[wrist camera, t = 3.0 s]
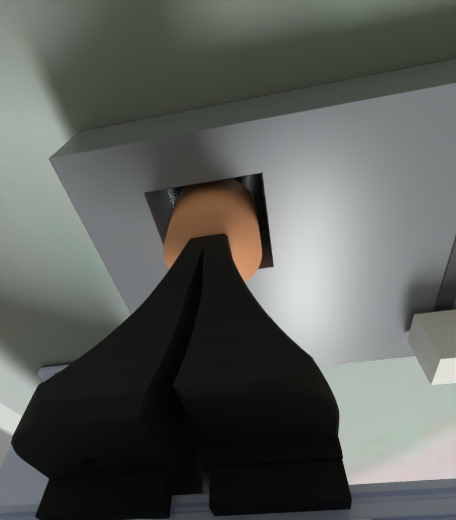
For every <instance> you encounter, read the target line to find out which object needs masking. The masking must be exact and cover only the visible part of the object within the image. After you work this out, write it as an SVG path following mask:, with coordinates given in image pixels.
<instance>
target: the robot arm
mask: <svg viewBox="0 0 456 520" xmlns="http://www.w3.org/2000/svg"><path fill="white" fill-rule="evenodd" d="M37 375H38V377H39V378H40V379H41V380H42V383H41V384H39V385H38V387H37V389H36V390H35V392H34V394H33V396H32V398H31V400H30V402H29V404H28V406H27V408H26V410H25V412H24V414H23V416H22V418H21V421H20V423H19V425H18V427H17V429H16V431H15V433H14V435H13V437H12V441H11V446H10V449H9V450H8V453H7V455H6V457H5V459H4V461H3V463H2V466H1V468H0V520H456V479H440V480H423V481H407V482H390V483H373V484H356V485H348V481H347V477H346V473H345V469H344V465H343V461H342V459H343V455H342V450H341V446H340V442H339V438H338V429H339V409H338V405H337V402H336V400H335V397H334V395H333V393H332V391H331V389H330V387H329V385H328V383H327V381H326V379H325V377H324V376H323V374H322V372H321V371H320V369H319V367H318V366H317V364H316V363H315V361H314V359H313V358H312V357H311V356H310V355H309V354H308V353H307V352H305V351H304V350H303V349H302V348H301V347H300V346H298V345H297V344H296V343H295V342H294V341H293V340H292V339H291V338H290V337H289V336H288V335H287V334H286V333H285V332H284V331H283V330H282V329H281V328H280V327H279V326H278V325H277V324H276V323H275V322H274V321H273V319H272V318H271V317H270V316H269V315H268V314H267V313H266V312H265V310H264V309H263V308H262V307H261V305H260V304H259V303H258V301H257V300H256V299H255V297H254V296H253V294H252V293H251V291H250V290H249V288H248V287H247V285H246V284H245V282H244V280H243V278H242V277H241V275H240V273H239V271H238V269H237V267H236V265H235V263H234V261H233V257H232V253H231V248H230V244H229V239H228V236H227V235H226V234H224V233H223V234H216V235H209V236H203V237H196V238H190V239H189V241H188V242H187V244H186V245H185V247H184V248H183V250H182V251H181V253H180V254H179V256H178V257H177V259H176V260H175V262H174V263H173V265H172V266H171V268H170V269H169V271H168V272H167V273H166V275H165V276H164V278H163V279H162V280H161V281H160V283H159V284H158V285H157V287H156V288H155V289H154V290H153V292H152V293H151V294H150V295H149V297H148V298H147V299H146V300H145V301H144V302H143V303H142V304H141V305H140V306H139V307H138V308H137V309H136V310H135V312H134V313H133V314H132V315H131V316H130V317H128V318H127V319H126V320H125V321H124V322H123V323H122V324H121V325H120V326H118V327H117V328H116V329H115V330H114V331H113V332H112V333H111V334H110V335H108V336H107V337H106V338H105V339H104V340H102V341H101V342H100V343H99V344H97V345H96V346H95V347H94V348H92V349H91V350H90V351H88V352H87V353H86V354H84V355H83V356H82V357H80V358H79V359H77V360H76V361H75V362H73V363H72V364H70V365H61V366H52V367H43V368H40V369H39V371H38V373H37Z"/></svg>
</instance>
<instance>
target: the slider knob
mask: <svg viewBox="0 0 456 520" xmlns="http://www.w3.org/2000/svg"><path fill="white" fill-rule="evenodd" d="M408 342H409V344H410V346H411V348H412V350H413V352H414V354H415V356H416V357H417V359H418V361H419V363H420V365H421V367H422V369H423V371H424V373H425V375H426V376H427V378H428V380H429V382H430V384H431V385H438V384H449V383H456V310H447V311H438V312H430V313H421V314H414V317H413V321H412V325H411V329H410V333H409V337H408Z"/></svg>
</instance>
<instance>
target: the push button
mask: <svg viewBox="0 0 456 520" xmlns="http://www.w3.org/2000/svg"><path fill="white" fill-rule="evenodd" d="M223 233H224V234H226V235H227V236H228V239H229V244H230V248H231V253H232V257H233V261H234V263H235V265H236V267H237V269H238V271H239V273H240V275H241V277H242V278H243V280H244V282H246V281H248V280H249V279H250V278H251V277H252V276H253V275H254V274H255V273H256V271H257V269H258V268H259V265H260V263H261V259H262V247H261V239H260V232H259V224H258V217H257V210H256V204H255V201H254V198H253V197H252V195H251V193H250V192H249V191H248V189H247V188H246V187H245V186H244V185H242V184H241V183H240V182H238V181H236V180H234V179H232V178H227V179H221V180H215V181H209V182H204V183H198V184H192V185H186V186H185V187H184V188H183V189H182V190H181V191H180V192H179V194H178V196H177V198H176V201H175V204H174V208H173V212H172V216H171V220H170V223H169V227H168V231H167V235H166V239H165V243H164V249H163V253H164V259H165V262H166V264H167V267H168V268H169V269H170V268H171V266H172V265H173V263H174V262H175V260H176V259H177V257H178V256H179V254H180V253H181V251H182V250H183V248H184V247H185V245H186V244H187V242H188V241H189V239H190V238H196V237H203V236H209V235H216V234H223Z"/></svg>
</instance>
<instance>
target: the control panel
mask: <svg viewBox="0 0 456 520" xmlns="http://www.w3.org/2000/svg"><path fill="white" fill-rule="evenodd" d="M49 160H50V162H51V164H52V166H53V168H54V170H55V172H56V174H57V175H58V177H59V179H60V181H61V183H62V185H63V187H64V189H65V191H66V192H67V194H68V196H69V198H70V200H71V202H72V204H73V206H74V208H75V209H76V211H77V213H78V215H79V217H80V219H81V221H82V223H83V224H84V226H85V228H86V230H87V232H88V234H89V236H90V238H91V240H92V241H93V243H94V245H95V247H96V249H97V251H98V253H99V255H100V257H101V258H102V260H103V262H104V264H105V266H106V268H107V270H108V272H109V274H110V275H111V277H112V279H113V281H114V283H115V285H116V287H117V289H118V291H119V292H120V294H121V296H122V298H123V300H124V302H125V304H126V306H127V307H128V309H129V311H130V313H131V315H132V314H133V313H134V312H135V310H136V309H137V308H138V307H139V306H140V305H141V304H142V303H143V302H144V301H145V300H146V299H147V298H148V297H149V295H150V294H151V293H152V292H153V290H154V289H155V288H156V287H157V285H158V284H159V283H160V281H161V280H162V279H163V278H164V276H165V275H166V273H167V272H168V271H169V268H168V267H167V264H166V262H165V259H164V253H163V249H164V243H165V239H166V235H167V231H168V227H169V223H170V220H171V216H172V212H173V208H172V205H171V202H170V199H169V196H168V193H167V189H168V188H174V187H180V186H186V185H192V184H198V183H204V182H209V181H215V180H221V179H227V178H233V177H239V176H245V175H251V174H257V173H260V174H261V182H262V190H263V198H264V206H265V214H266V222H267V230H260V231H259V232H260V239H261V247H262V259H261V263H260V265H259V268H258V269H257V271H256V273H255V274H254V275H253V276H252V277H251V278H250V279H249V280H248V281H246V282H245V284H246V285H247V287H248V288H249V290H250V291H251V293H252V294H253V296H254V297H255V299H256V300H257V301H258V303H259V304H260V305H261V307H262V308H263V309H264V310H265V312H266V313H267V314H268V315H269V316H270V317H271V318H272V319H273V321H274V322H275V323H276V324H277V325H278V326H279V327H280V328H281V329H282V330H283V331H284V332H285V333H286V334H287V335H288V336H289V337H290V338H291V339H292V340H293V341H294V342H295V343H296V344H297V345H298V346H300V347H301V348H302V349H303V350H304V351H305V352H307V353H308V354H309V355H310V356H311V357H312V358H313V359H314V361H315V363H316V364H317V366H322V365H332V364H342V363H351V362H361V361H371V360H381V359H391V358H401V357H411V356H415V354H414V352H413V350H412V348H411V346H410V344H409V342H408V337H409V333H410V329H411V325H412V321H413V317H414V314H421V313H430V312H438V311H447V310H456V59H451V60H446V61H441V62H436V63H430V64H425V65H420V66H415V67H410V68H405V69H399V70H394V71H389V72H384V73H379V74H374V75H368V76H363V77H358V78H353V79H348V80H343V81H338V82H332V83H327V84H322V85H317V86H312V87H307V88H301V89H296V90H291V91H286V92H281V93H276V94H270V95H265V96H260V97H255V98H250V99H245V100H239V101H234V102H229V103H224V104H219V105H214V106H209V107H203V108H198V109H193V110H188V111H183V112H178V113H172V114H167V115H162V116H157V117H152V118H147V119H141V120H136V121H131V122H126V123H121V124H116V125H110V126H105V127H100V128H95V129H90V130H85V131H80V132H78V133H77V134H76V135H75V136H74V137H73V138H72V139H70V140H69V141H68V142H67V143H66V144H65V145H64V146H62V147H61V148H60V149H59V150H58V151H57V152H56V153H55V154H53V155H52V156H51V157H50V158H49Z"/></svg>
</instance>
